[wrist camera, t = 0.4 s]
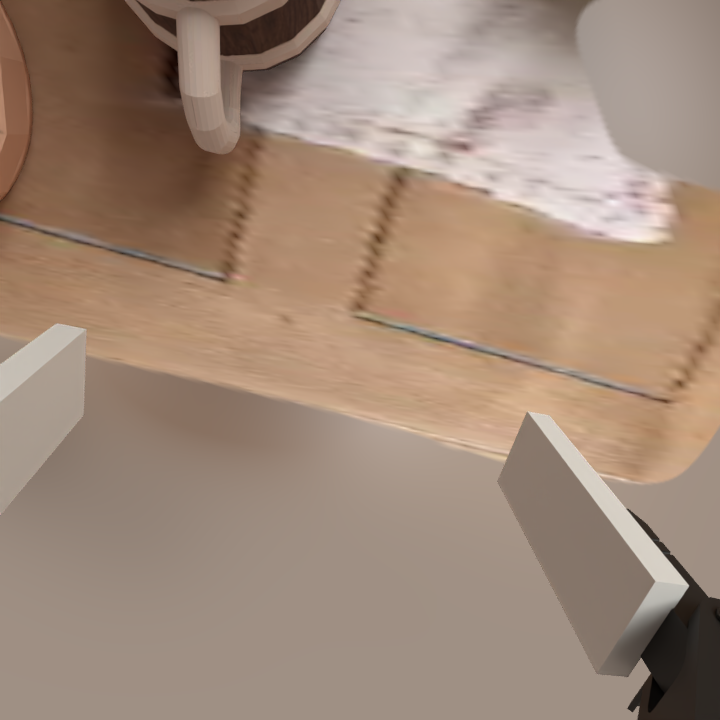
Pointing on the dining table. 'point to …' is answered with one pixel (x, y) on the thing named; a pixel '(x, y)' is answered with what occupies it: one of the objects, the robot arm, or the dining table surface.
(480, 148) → the dining table surface
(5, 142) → the dish
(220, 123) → the mug
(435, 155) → the dining table surface
